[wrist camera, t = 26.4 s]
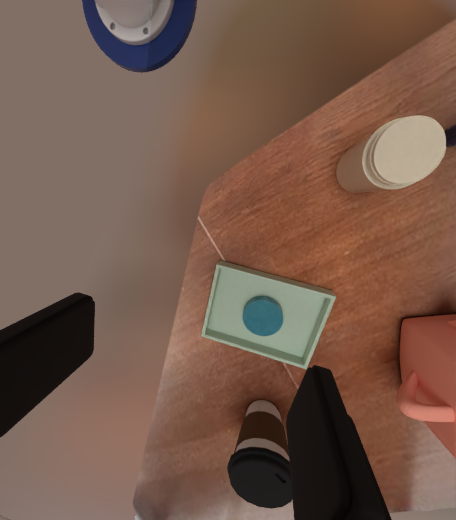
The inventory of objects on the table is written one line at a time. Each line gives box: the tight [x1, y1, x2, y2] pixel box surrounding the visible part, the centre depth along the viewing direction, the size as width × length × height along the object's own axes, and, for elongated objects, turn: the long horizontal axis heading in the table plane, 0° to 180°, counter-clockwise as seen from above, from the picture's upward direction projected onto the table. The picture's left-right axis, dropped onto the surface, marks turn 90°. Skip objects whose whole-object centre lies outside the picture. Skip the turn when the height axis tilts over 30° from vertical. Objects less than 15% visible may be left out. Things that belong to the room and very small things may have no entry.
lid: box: [243, 296, 283, 336], centre depth 37 cm, size 7×7×2 cm
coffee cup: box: [227, 400, 293, 508], centre depth 38 cm, size 11×11×12 cm
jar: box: [336, 115, 446, 193], centre depth 25 cm, size 7×7×11 cm
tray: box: [201, 261, 336, 369], centre depth 37 cm, size 19×14×2 cm
